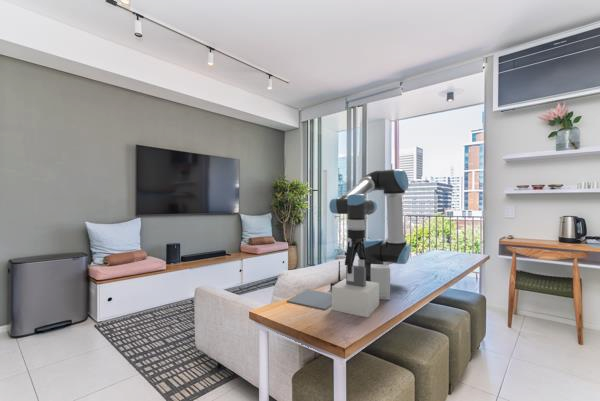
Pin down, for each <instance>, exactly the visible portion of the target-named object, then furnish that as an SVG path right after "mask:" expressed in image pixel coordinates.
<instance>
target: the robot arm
mask: <svg viewBox="0 0 600 401" xmlns="http://www.w3.org/2000/svg"><path fill="white" fill-rule="evenodd" d="M409 185H410V184H409V176H408V174H407V173H406V171H405V170H404V169H397V168H394V169H381V170H380V169H379V170H378V169H377V170H374V171H372V172H370V173H368V174H365V175H364V176H362V177H361V179H360V180H359V181H358V183H356V184H355V185H354V186H353V187H352V188H350V189H349V190H348V191H347V192H345V193H344V194H343V195H342V196H341V197H339V198H337V197H336V198H332V199H331V200H330V201H329V203H328V204H329V211H330V212H331V213H332V214H337V215H347V221H346V223H347V228H348V229H347V238H348V239H350V241H348V242H347V250H346V253H345V260H344V266H347V281H352V282H353V281H354V266H355V265H354V262H355V258H356V254H357V256H358V259H357V262H358V263H357V264H358V265H357V266H362V267H366V281H369V282H371V264H381V265H384V263H389V264H396V265H406V264H407V263H408V261H409V258H410V255H411V245H410V244H408V243H407V239H405V236H404V212H403V210H404V208H403V206H404V205H403V196H404V195H405V194H406V190H407V191H408V189H409ZM374 191H383V195H384V196H385V197H386V220H387V223H386V224H387V237H386V238H385V240H384V239H383V238H382V239H381V238H377V239H376V238H375V239H373V238H372V239H368V240H365V238H366V230H365V229H366V215H367V216H368V215H369V216H370V215H372V214H374V213H375V212H376V210H377V209H378V205H377V202H376V200H374V199H372V198H366V195H367V194H369V193H372V192H374ZM353 265H354V266H353Z"/></svg>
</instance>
